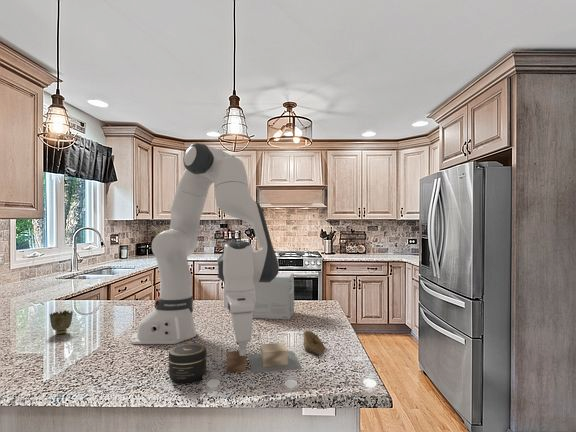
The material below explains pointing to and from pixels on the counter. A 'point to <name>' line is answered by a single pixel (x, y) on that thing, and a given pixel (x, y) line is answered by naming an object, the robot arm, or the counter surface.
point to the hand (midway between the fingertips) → (241, 349)
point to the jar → (187, 363)
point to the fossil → (313, 343)
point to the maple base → (274, 354)
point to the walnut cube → (235, 362)
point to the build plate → (258, 366)
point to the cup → (61, 321)
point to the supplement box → (275, 297)
